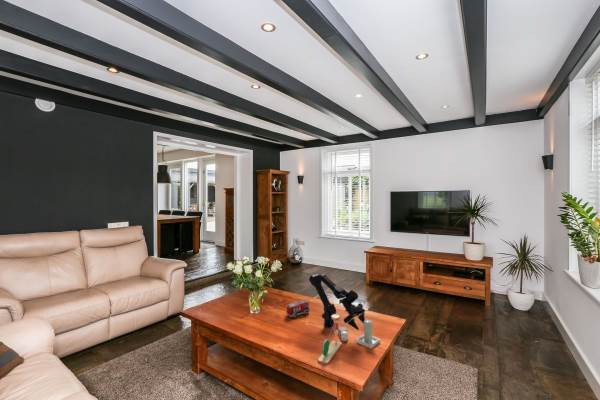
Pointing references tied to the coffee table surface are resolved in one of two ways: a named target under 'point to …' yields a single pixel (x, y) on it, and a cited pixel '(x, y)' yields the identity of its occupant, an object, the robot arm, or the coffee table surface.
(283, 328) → the coffee table surface
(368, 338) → the pale green cylinder
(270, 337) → the coffee table surface
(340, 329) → the grey block
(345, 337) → the white rounded cylinder
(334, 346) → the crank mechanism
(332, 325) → the robot arm
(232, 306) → the coffee table surface
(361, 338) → the white tray
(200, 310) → the coffee table surface
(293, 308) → the toy fire truck
